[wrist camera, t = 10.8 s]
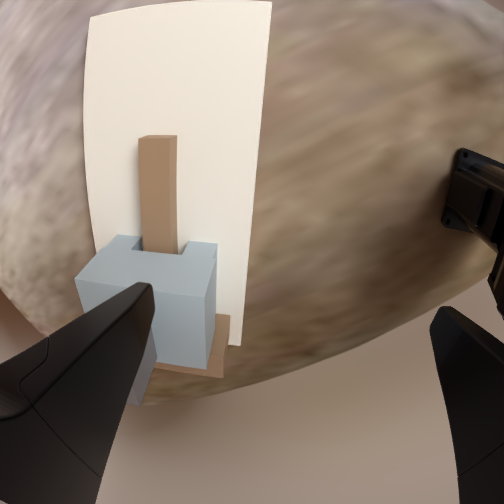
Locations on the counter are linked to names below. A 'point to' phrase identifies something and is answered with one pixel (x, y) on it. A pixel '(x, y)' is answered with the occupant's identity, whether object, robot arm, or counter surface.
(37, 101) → the counter surface
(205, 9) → the mounting board
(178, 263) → the cabinet block
